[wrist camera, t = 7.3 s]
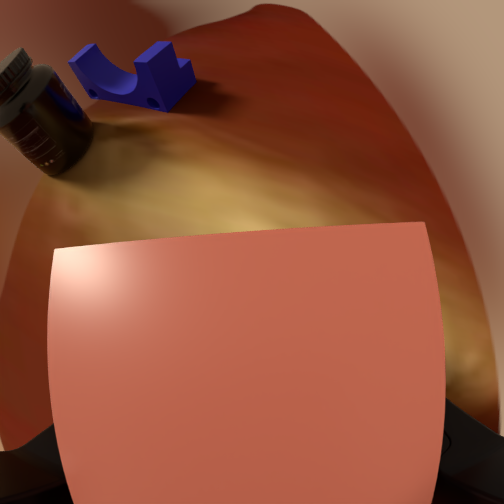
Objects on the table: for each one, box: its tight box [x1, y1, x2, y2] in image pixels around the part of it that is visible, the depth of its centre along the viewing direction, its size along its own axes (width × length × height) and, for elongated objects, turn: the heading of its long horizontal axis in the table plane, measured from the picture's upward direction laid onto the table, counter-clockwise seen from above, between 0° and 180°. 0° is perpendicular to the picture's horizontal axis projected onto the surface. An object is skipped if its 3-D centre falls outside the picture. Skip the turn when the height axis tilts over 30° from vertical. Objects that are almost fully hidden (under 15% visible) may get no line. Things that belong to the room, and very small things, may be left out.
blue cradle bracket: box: [68, 41, 196, 113], centre depth 20 cm, size 12×4×6 cm, turn 62°
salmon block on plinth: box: [48, 222, 446, 504], centre depth 8 cm, size 6×6×12 cm
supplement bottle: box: [0, 47, 93, 175], centre depth 16 cm, size 7×7×12 cm
